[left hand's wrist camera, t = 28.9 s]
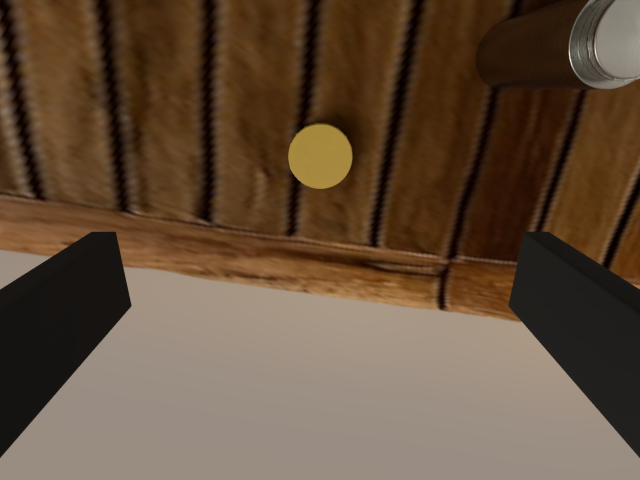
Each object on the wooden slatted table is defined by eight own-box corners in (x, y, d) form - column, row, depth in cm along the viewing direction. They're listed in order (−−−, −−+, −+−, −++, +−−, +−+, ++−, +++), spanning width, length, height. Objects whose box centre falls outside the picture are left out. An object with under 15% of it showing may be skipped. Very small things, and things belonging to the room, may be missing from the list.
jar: (468, 37, 33) (576, 1, 19) (531, 8, 32) (691, -53, 18) (484, 99, 35) (593, 106, 21) (544, 72, 34) (698, 62, 20)
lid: (364, 160, 37) (365, 163, 35) (314, 197, 38) (314, 201, 37) (326, 108, 35) (327, 109, 33) (276, 149, 36) (274, 151, 35)
